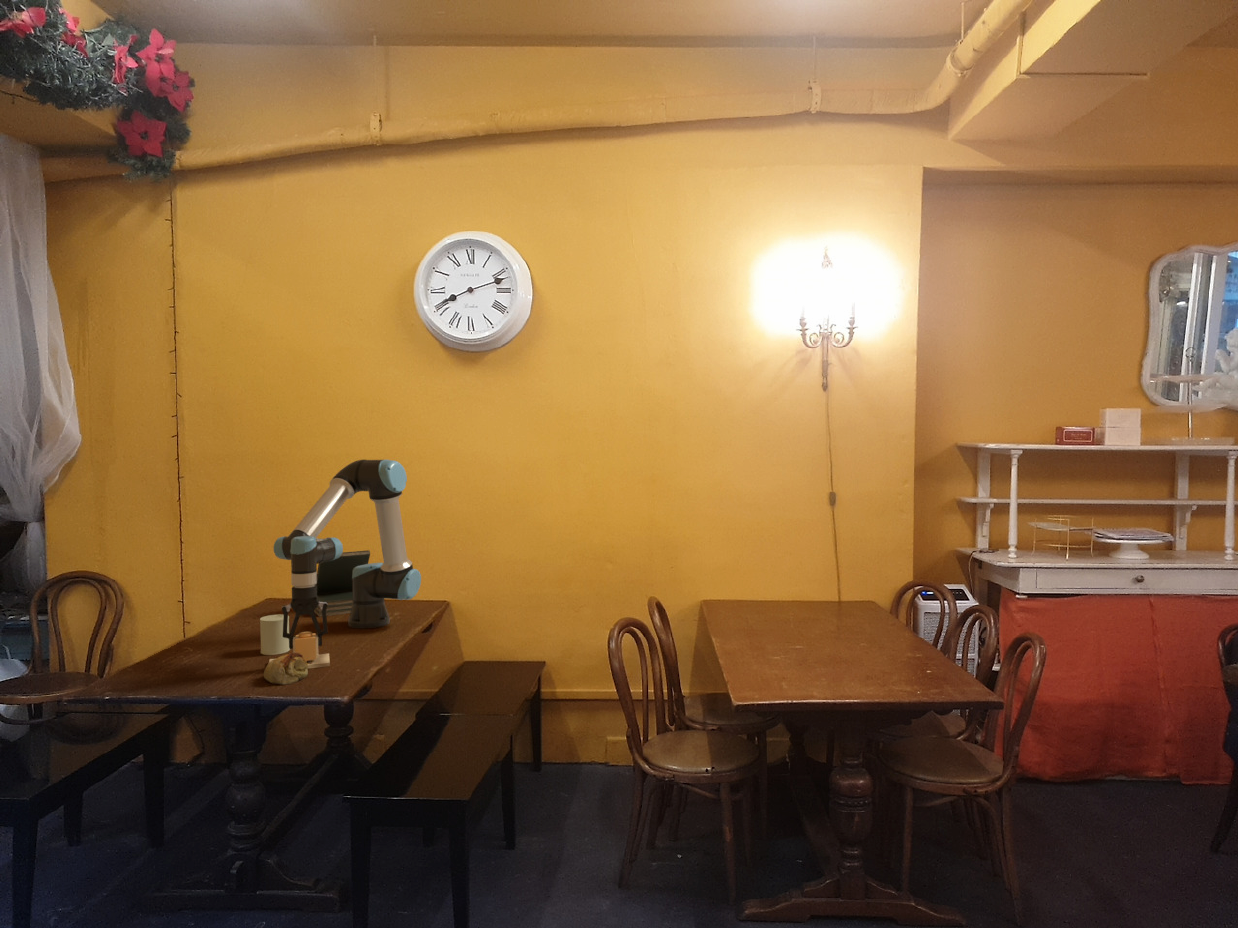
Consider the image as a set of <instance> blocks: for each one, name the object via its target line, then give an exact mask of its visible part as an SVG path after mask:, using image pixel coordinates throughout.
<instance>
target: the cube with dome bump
mask: <svg viewBox="0 0 1238 928" xmlns="http://www.w3.org/2000/svg"><path fill="white" fill-rule="evenodd" d="M316 635H317V632H316V633H313V632H312V631H302V632H299V633H298V634H295V635H294V637H295V653H300V654H301V655H302V656H303V657H304V659H305V660H306V661H308V660H316Z"/></svg>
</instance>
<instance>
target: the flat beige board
mask: <svg viewBox="0 0 1238 928" xmlns="http://www.w3.org/2000/svg"><path fill="white" fill-rule="evenodd" d="M318 654H319V653H318ZM274 659H275V658H269V660H268V661H269V662H271V661H272V660H274ZM269 662H268V663H269ZM306 662H307V664H308V669H309V670H310V669H315V668H316V669H317V668H328V667H330V666H331V663H330V653H329V652H328V653H321V654H319V657H316V660H308V661H306Z"/></svg>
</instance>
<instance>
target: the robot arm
mask: <svg viewBox="0 0 1238 928" xmlns="http://www.w3.org/2000/svg"><path fill="white" fill-rule="evenodd" d="M406 472H407V471H406V470H405V467H404V466H403V464H401V463H400V462H399V461H397V460H394V459H393V460H391V459H359V460H358V459H357V460H355V461H353V462H350V463H349V464H347V465H345V466H344V467H343V468H341V470H339V471H338V472H337V473H336V474H335V475H334V476H333V477H332V478H331V480H330V481H329V483H328V484H329V487H328V488H327V489H326V490H325V492H323V494H322V495H321V496H320V498H319V499H318V500H317V501H316V502H315V504H313V506H312V507H311V508H310V509H309V511H308V512H307V513H306V514H305V516H304V517H303V518H302V520H301V521H300V522H299V523H298V524H297V525H296V526H295V527H294V529H293V530H292V532H290V534H289V535H288V536H286V535H285V536H280V537H278V538H277V539H276V540H275V541H274V544H273V553H274V555H275V557H277V558H278V559H279V560H287V561H290V562H291V563H290V564H291V565H290V566H291V567H290V568H291V574H290V575H291V581H290V582H291V586H292V587H291V601H290V603H288V604H287V605H286V604H284V605H283V604H282V606H281V611H282V613H283V614H282V615H284V618H283V637H284V638H288V639H289V648H290V650H292V653H295V633H296V629H297V626H298V623H299V619H300V617H301V616H304V615H305V616H306V615H307V616H308V615H310V616H309V617H310V618H311V620H312V623H313V626H314V628H315V631H316V657H319V647H322V646H323V636H324V635H327V634H328V632H329V630H328V629H329V628H328V618H327V617H328V616H326V609H327V602H324V603H323V602H319V600H318V598H317V586H316V585H315V584H316V583H317V571H318V564H319V563H323V562H327V561H332V560H335V559H337V558H339V557H340V556H341V555H342V553H343V552H344V546H343V543H342V541H341V540H340V539H339V538H337V537H326V538H318V536H319V535H320V534H321V533H322V532H323V530H324V529H325V527H326V526H327V525H328V524H329V522H330V521H331V520H332V519H333V517H334V516H335V515H336V514H337V512H338V511H339V510H340V509H341V507H342V506H343V505H344V504H345V502H347V500H350V499H352V498H353V497H354V495H356V494H357V493H360V492H368V495H369V500H370V501H372V502H373V503H374V505H375V514H376V520H377V525H378V532H379V539H380V546H381V552H382V559H383V562H372V563H368V564H365V565H360V566H357V567H355V568H354V569H353V573H352V589H353V606H352V610H351V613H349V616H348V620H347V622H348V627H350V628H353V629H373V628H374V629H375V628H380V627H385V626H387V625H389V624H390V622H391V621H390V615H389V612H388V609H387V606H386V603H385V599H388V600H399V601H403V600H404V601H409V600H411V599H413V598H414V597H416V596H417V594H418V592H419V589H420V588H421V585H422V584H421V583H422V574H421V573H420V571H419V570H418V569H417V568H414V565H413V561H412V560H410V559H409V557H408V553H407V547H406V540H405V533H404V532H405V531H404V526H403V519H402V512H401V506H400V500H399V499H400V497H401V496H402V495H403V491H404V490H405V488H406V486H407V484H406V483H407V482H408V479H407V478H408V476H407V473H406ZM318 605H319V606H320V609H322V617H321V619H322V625H323V627H322V628H323V629H321V626H320V624H319V621H318V618H317V614H316V613H315V612H314V610H315V609H316V608H317V606H318ZM290 609H292V610H293V611H294V612H295V615H294V619H293V622H292V625H291V627H290V630H289V633H287V624H288V616H289V612H291V611H290Z"/></svg>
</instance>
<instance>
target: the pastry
mask: <svg viewBox="0 0 1238 928" xmlns="http://www.w3.org/2000/svg"><path fill="white" fill-rule="evenodd" d="M273 659H274V660H272V661H271V662H268V663H267V665H266V666H265V669H264V672H263V678H264V679H265V680H266V681H267V682H269V683H271V684H272V685H273V684H277V685H281V686H282V685H283V686H285V685H291V684H295V683H297V682H299V681H300V680H303V679H305V678H306V677H307V676H308V673H309V671H308V664H307V662H306V660H305V659H304V657H303V656H302V655H301V654H300V653H293V652H291V653H288V652H287V654H283V655H281V656H278V657H277V658H273Z"/></svg>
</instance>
